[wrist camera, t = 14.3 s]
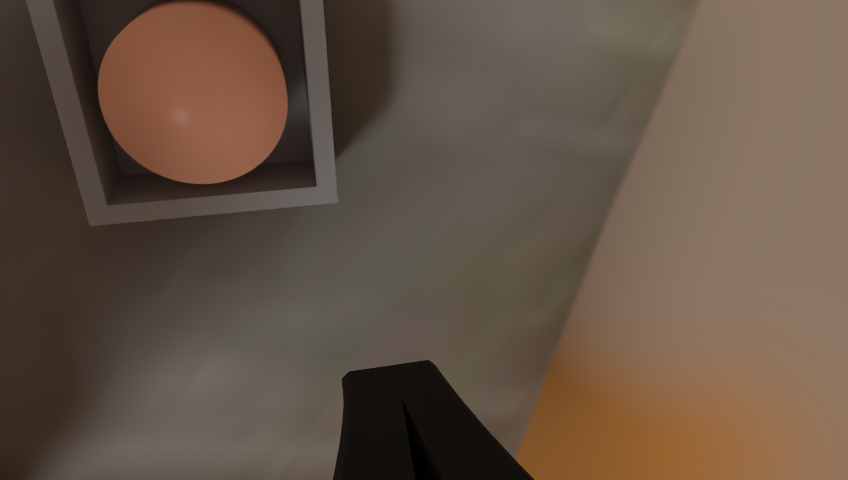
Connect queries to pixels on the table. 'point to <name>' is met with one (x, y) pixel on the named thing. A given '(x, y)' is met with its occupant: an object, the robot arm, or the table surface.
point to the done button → (194, 90)
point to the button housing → (162, 197)
